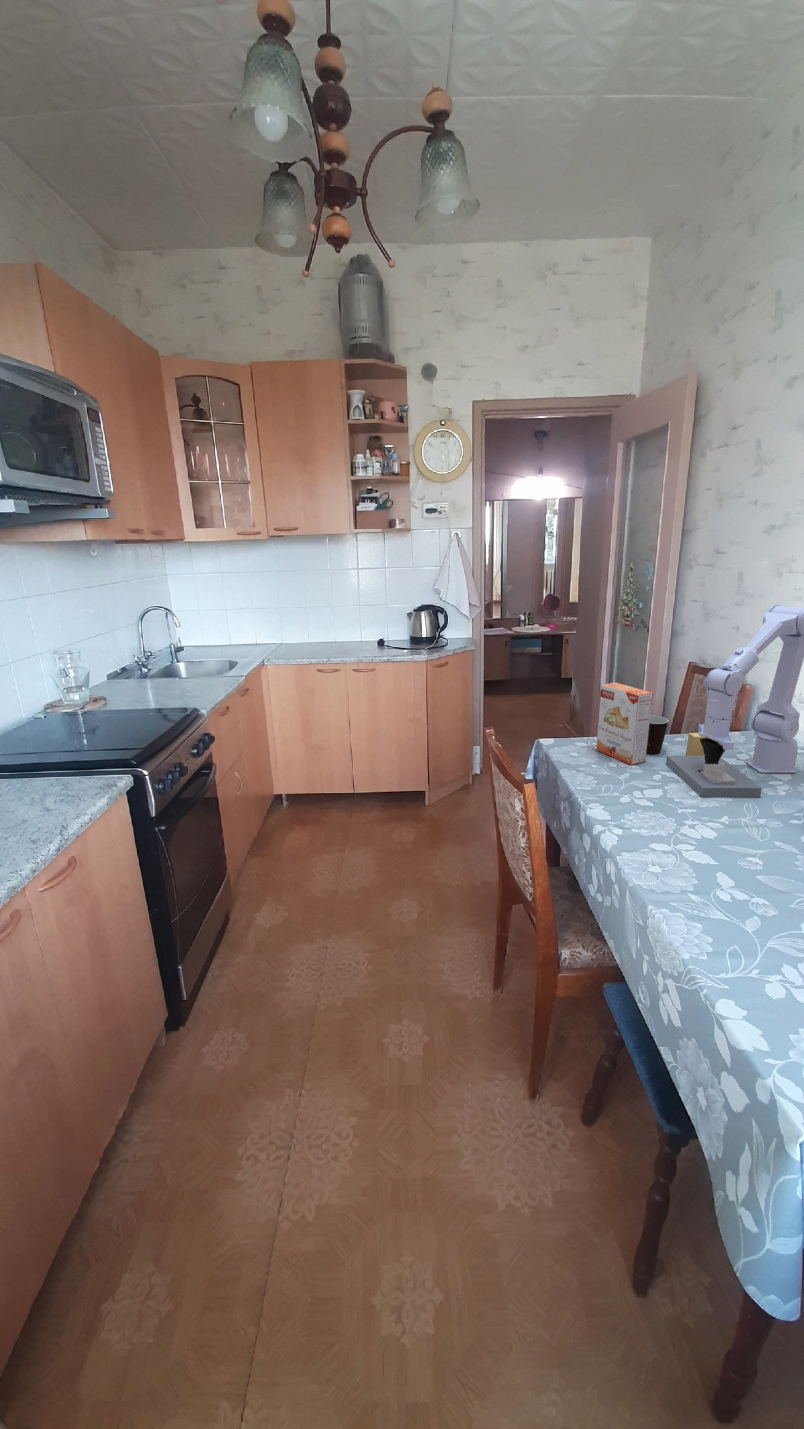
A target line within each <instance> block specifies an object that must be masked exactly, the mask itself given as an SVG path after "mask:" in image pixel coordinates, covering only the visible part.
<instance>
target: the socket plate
mask: <svg viewBox="0 0 804 1429" xmlns="http://www.w3.org/2000/svg"><path fill="white" fill-rule="evenodd" d="M665 763H666V764H665V765H667V766H668V767H669V768H670V769H671V770H672V771H673V772H674V773H675V774H676V775H677V776H678V777H679V778H681V780H682V781H683V782H685V784H687V786H689V787H690V788H691V789H692V790H693V791H694V792H695V793H696V794H698V796H700V797H701V798H761V795H762V790H763V789H762V788H763V787H762V786H760V785H758V784H757V783H756V782H754V781H753V780H751V779H750V778H749V777H747V775H745V774H744V773H742V772H741V771H740V770H738V768H735V766H733V765H731V764H730V763H729V762H728V761H727V760H725V759H723V758H722V757H721V758H720V760H719V762H718V763H725V764H726V765H725V772H726V773H727V774H728V775H730V776H731V777H732V778H733V779H735V780H736V784H711V783H710V782H708V781H707V780H706V779H705V778H704V777H703V776H701V775H700V771H703V764H704V763H705V756H686V755H666V762H665Z"/></svg>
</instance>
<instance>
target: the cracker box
mask: <svg viewBox="0 0 804 1429" xmlns="http://www.w3.org/2000/svg"><path fill="white" fill-rule="evenodd" d="M653 694H654V693H653V692H652V691H648V690H644V689H640V688H636V687H633V686H630V685H627V684H623V683H619V682H616V681H615V682H610V683H603V684H601V688H600V701H599V712H598V724H597V725H598V726H597V735H596V736H597V737H596V738H597V739H596V749H595V750H596V751H598V752H600V753H602V754H605V755H606V756H610V757H612V758H614V759H616V760H619V761H621V762H623V763H625V764H627V765H630V766H634V765H638V764H641V763H645V762H646V760H647V758H646V757H647V754H646V752H647V742H648V733H649V724H650V715H652V704H653Z"/></svg>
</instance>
